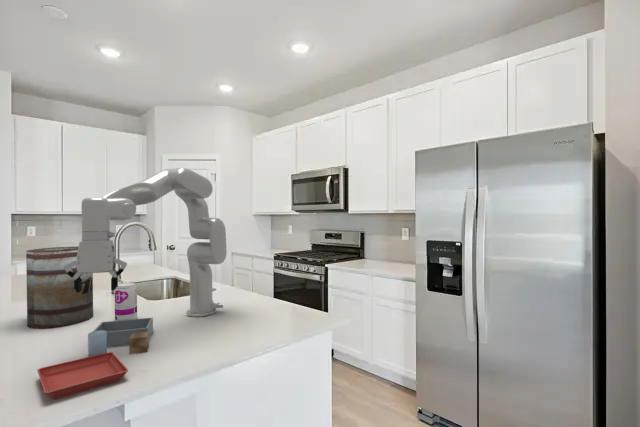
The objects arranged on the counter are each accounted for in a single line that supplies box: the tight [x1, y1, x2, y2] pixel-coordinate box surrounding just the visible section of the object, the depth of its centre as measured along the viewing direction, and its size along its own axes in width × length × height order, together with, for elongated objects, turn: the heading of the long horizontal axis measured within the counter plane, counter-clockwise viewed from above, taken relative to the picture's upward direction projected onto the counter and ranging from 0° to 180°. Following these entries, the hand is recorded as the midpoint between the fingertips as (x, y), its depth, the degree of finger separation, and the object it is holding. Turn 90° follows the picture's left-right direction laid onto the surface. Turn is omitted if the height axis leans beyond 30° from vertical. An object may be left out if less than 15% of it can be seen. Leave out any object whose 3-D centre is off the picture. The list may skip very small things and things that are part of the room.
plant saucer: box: [36, 351, 129, 400], centre depth 96 cm, size 18×18×3 cm
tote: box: [92, 317, 154, 348], centre depth 127 cm, size 17×13×5 cm
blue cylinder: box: [87, 330, 108, 357], centre depth 113 cm, size 5×5×7 cm
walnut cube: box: [128, 332, 150, 355], centre depth 117 cm, size 5×5×5 cm
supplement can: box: [114, 282, 138, 321], centre depth 150 cm, size 8×8×15 cm
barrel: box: [25, 245, 94, 330], centre depth 150 cm, size 22×22×30 cm
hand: (96, 290), depth 113 cm, fingers open, 9 cm apart
